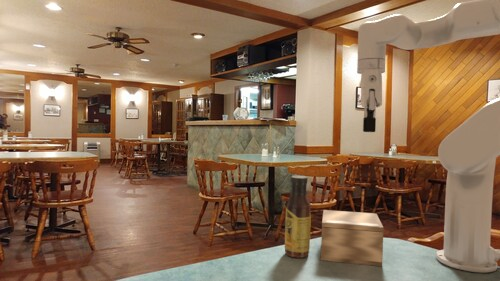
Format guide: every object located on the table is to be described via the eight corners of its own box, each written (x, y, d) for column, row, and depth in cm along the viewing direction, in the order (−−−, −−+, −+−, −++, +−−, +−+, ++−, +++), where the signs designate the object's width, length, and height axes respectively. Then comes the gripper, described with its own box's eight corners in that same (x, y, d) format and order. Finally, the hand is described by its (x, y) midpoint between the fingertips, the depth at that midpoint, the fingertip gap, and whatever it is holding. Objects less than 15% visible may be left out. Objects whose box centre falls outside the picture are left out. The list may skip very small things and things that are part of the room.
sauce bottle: (283, 249, 92) (285, 174, 92) (307, 250, 92) (309, 174, 91) (285, 259, 86) (287, 177, 85) (311, 260, 86) (313, 178, 85)
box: (375, 246, 96) (376, 217, 96) (382, 266, 82) (383, 232, 82) (322, 242, 99) (323, 213, 99) (320, 260, 86) (321, 227, 85)
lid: (376, 217, 96) (376, 212, 96) (383, 231, 82) (383, 226, 82) (323, 213, 99) (323, 209, 99) (321, 226, 85) (321, 221, 85)
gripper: (389, 62, 92) (386, 132, 93) (381, 71, 107) (379, 132, 107) (359, 62, 94) (357, 132, 95) (355, 71, 109) (354, 131, 109)
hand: (369, 131), depth 101 cm, fingers closed
